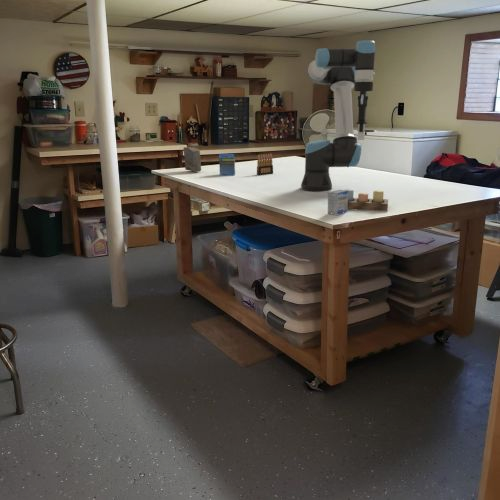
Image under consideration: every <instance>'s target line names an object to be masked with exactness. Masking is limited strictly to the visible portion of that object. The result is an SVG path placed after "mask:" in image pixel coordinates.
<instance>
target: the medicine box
mask: <svg viewBox="0 0 500 500" xmlns="http://www.w3.org/2000/svg"><path fill="white" fill-rule="evenodd" d="M347 206H348V191H347V189H337V190H333V191H330V192H327V214H328V213H332V214H331V215H334V214H339V215H341V214H344V213H346V211H347V212H348V209H347ZM343 212H344V213H343ZM340 213H341V214H340Z"/></svg>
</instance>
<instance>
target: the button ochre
mask: <svg viewBox="0 0 500 500" xmlns="http://www.w3.org/2000/svg"><path fill="white" fill-rule="evenodd" d="M372 199H373V202H380V203H383V199H384V190H373V196H372Z"/></svg>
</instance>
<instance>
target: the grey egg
mask: <svg viewBox="0 0 500 500" xmlns="http://www.w3.org/2000/svg"><path fill="white" fill-rule="evenodd" d="M346 190H347V191H348V201H353V198H354V192H355V191H354V189H346Z"/></svg>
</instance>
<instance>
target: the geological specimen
mask: <svg viewBox="0 0 500 500" xmlns="http://www.w3.org/2000/svg"><path fill="white" fill-rule="evenodd" d="M182 150H183V155H184V168H185V170H186V171H191V172H193V173H199V172H201V171H202V165H201V164H202V163H201V161H202V159H201V151H200V149H198V148H195V147H189V146H186V147H183V149H182Z"/></svg>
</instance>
